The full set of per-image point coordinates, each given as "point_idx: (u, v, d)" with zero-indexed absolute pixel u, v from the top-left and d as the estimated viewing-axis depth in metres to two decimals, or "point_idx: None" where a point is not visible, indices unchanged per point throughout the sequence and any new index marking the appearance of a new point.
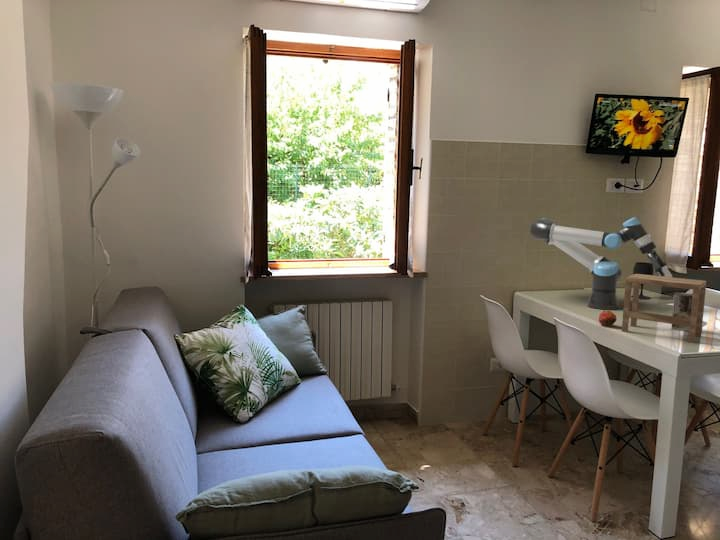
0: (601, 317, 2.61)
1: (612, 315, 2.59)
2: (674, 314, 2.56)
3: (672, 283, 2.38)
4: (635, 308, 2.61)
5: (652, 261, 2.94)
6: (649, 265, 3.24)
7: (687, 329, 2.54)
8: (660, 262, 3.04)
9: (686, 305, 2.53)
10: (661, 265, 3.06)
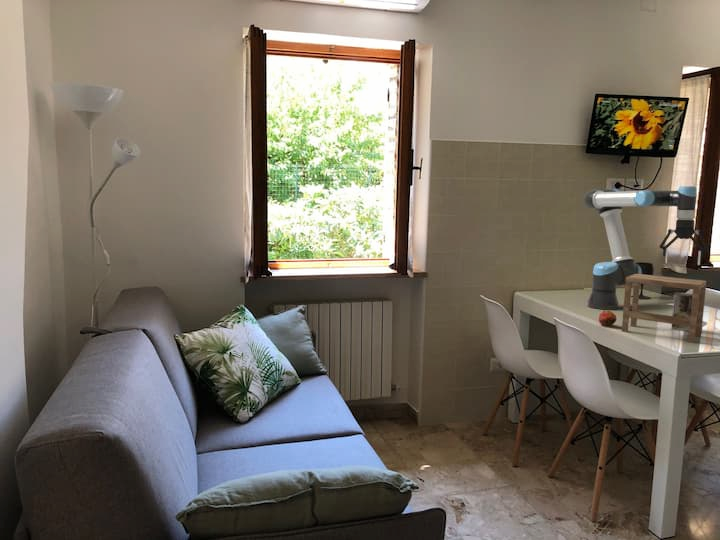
0: (601, 317, 2.61)
1: (612, 315, 2.59)
2: (674, 314, 2.56)
3: (672, 283, 2.38)
4: (635, 308, 2.61)
5: (665, 237, 2.76)
6: (649, 265, 3.24)
7: (687, 329, 2.54)
8: None
9: (686, 305, 2.53)
10: None
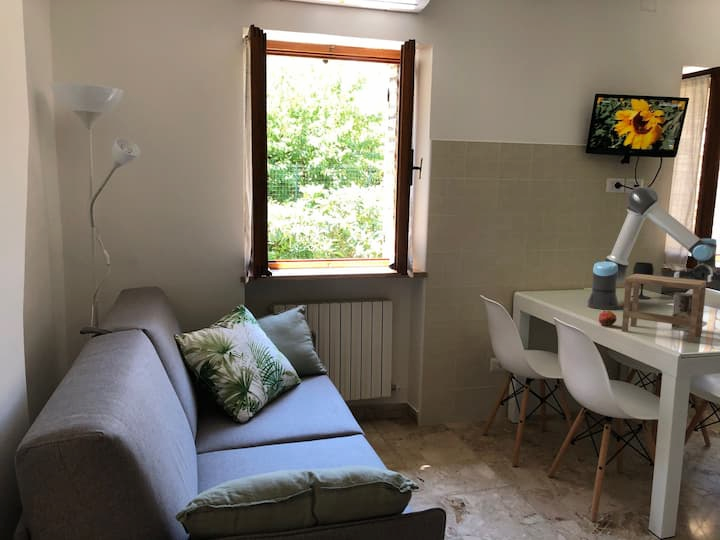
0: (601, 317, 2.61)
1: (612, 315, 2.59)
2: (674, 314, 2.56)
3: (672, 283, 2.38)
4: (635, 308, 2.61)
5: None
6: (649, 265, 3.24)
7: (687, 329, 2.54)
8: (683, 275, 2.72)
9: (686, 305, 2.53)
10: None
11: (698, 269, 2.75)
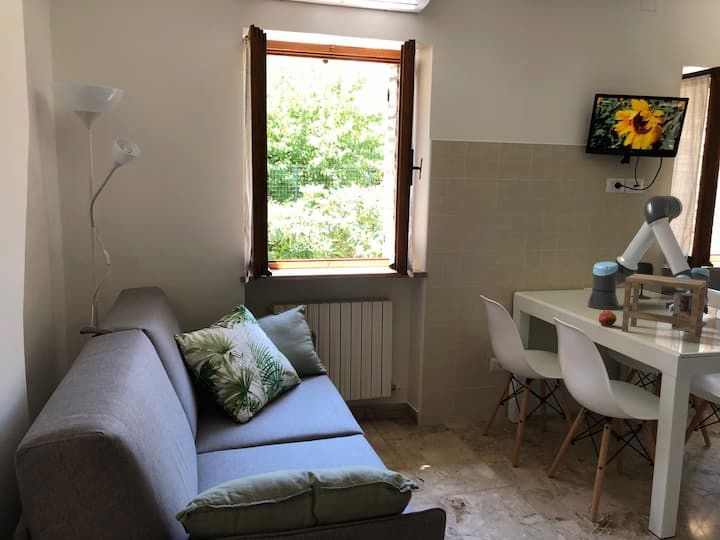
0: (601, 317, 2.61)
1: (612, 315, 2.59)
2: (674, 314, 2.56)
3: (672, 283, 2.38)
4: (635, 308, 2.61)
5: None
6: (649, 265, 3.24)
7: (687, 329, 2.54)
8: None
9: (686, 305, 2.53)
10: None
11: None
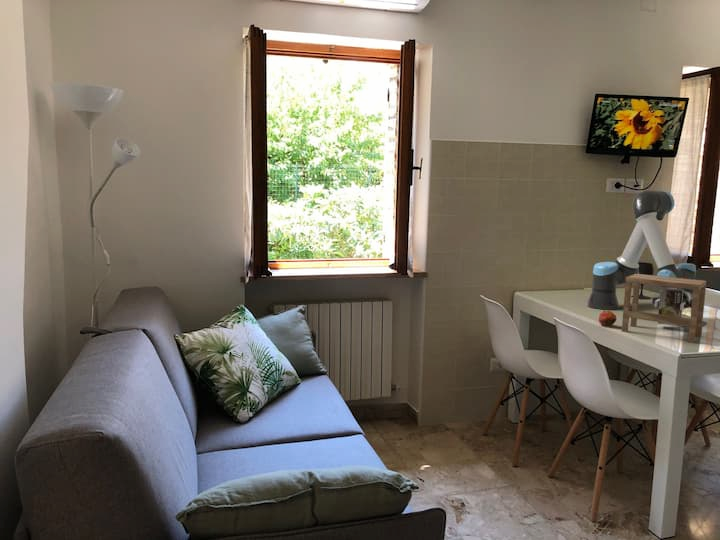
0: (601, 317, 2.61)
1: (612, 315, 2.59)
2: (660, 308, 2.58)
3: (672, 283, 2.38)
4: (635, 308, 2.61)
5: None
6: (649, 265, 3.24)
7: None
8: None
9: (672, 300, 2.55)
10: None
11: None
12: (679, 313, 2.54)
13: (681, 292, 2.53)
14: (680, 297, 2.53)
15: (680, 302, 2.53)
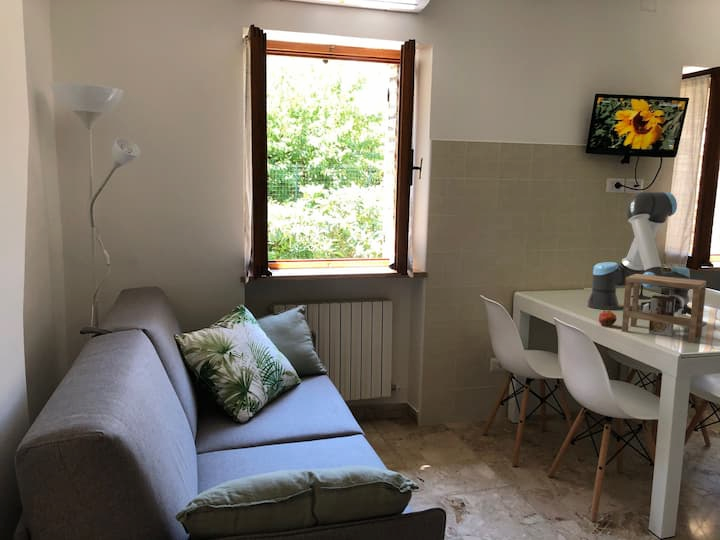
0: (601, 317, 2.61)
1: (612, 315, 2.59)
2: None
3: (672, 283, 2.38)
4: (635, 308, 2.61)
5: None
6: None
7: (664, 333, 2.47)
8: None
9: (663, 309, 2.46)
10: None
11: None
12: None
13: (673, 301, 2.43)
14: (672, 306, 2.44)
15: (672, 311, 2.44)
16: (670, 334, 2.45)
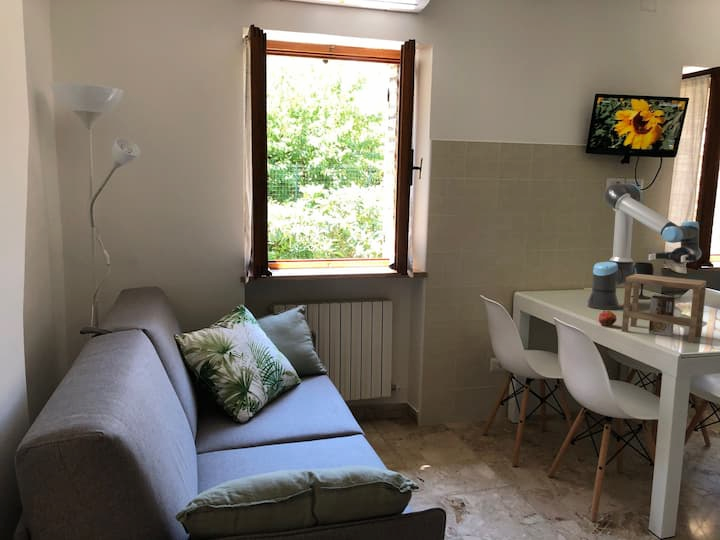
0: (601, 317, 2.61)
1: (612, 315, 2.59)
2: None
3: (672, 283, 2.38)
4: (635, 308, 2.61)
5: None
6: (649, 265, 3.24)
7: (664, 333, 2.47)
8: (660, 257, 2.67)
9: (663, 309, 2.46)
10: None
11: (677, 251, 2.69)
12: None
13: (673, 301, 2.44)
14: (672, 306, 2.44)
15: (672, 311, 2.44)
16: (670, 334, 2.45)
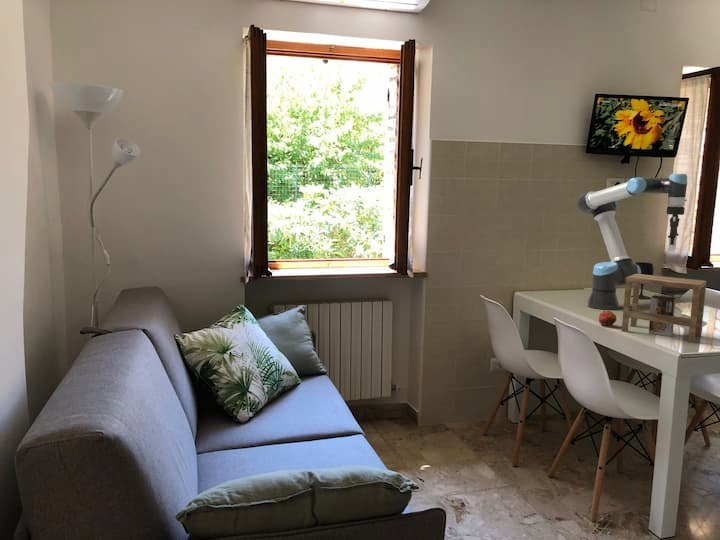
0: (601, 317, 2.61)
1: (612, 315, 2.59)
2: None
3: (672, 283, 2.38)
4: (635, 308, 2.61)
5: (672, 225, 2.71)
6: (649, 265, 3.24)
7: (664, 333, 2.47)
8: None
9: (663, 309, 2.46)
10: None
11: None
12: None
13: (673, 301, 2.44)
14: (672, 306, 2.44)
15: (672, 311, 2.44)
16: (670, 334, 2.45)
